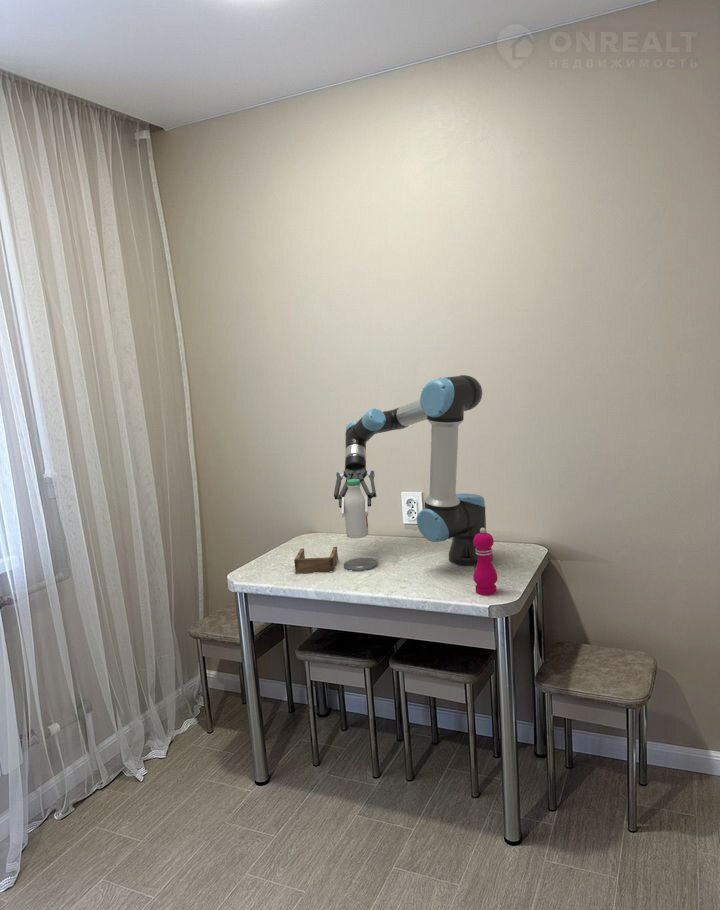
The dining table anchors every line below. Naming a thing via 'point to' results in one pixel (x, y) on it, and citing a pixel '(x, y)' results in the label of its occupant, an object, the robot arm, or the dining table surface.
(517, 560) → the dining table surface
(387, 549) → the dining table surface
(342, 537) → the dining table surface
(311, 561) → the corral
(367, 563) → the coaster
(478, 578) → the pepper mill
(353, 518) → the milk bottle
